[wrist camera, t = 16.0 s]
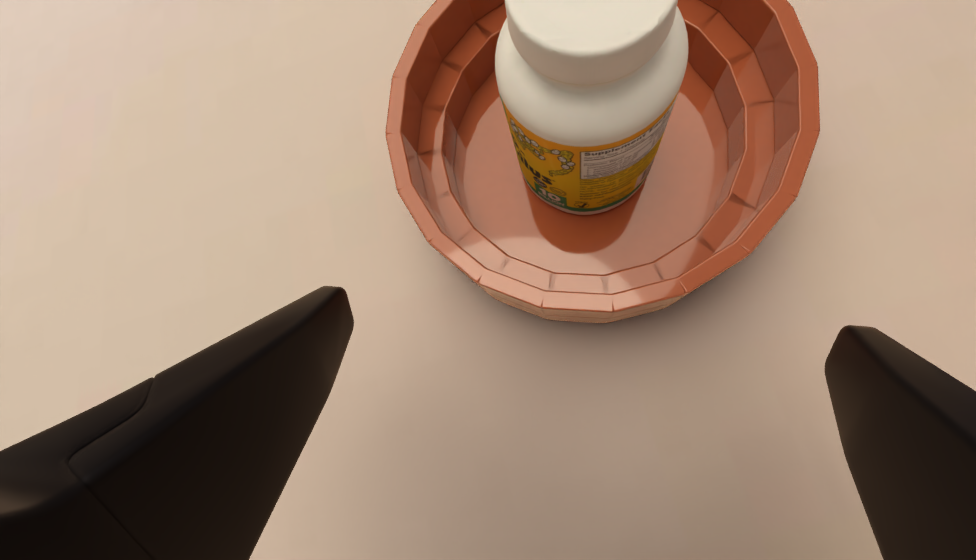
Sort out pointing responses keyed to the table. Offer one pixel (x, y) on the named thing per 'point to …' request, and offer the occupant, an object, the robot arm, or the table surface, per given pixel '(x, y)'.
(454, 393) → the table surface
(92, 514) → the robot arm
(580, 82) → the supplement bottle
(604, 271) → the bowl
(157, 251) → the table surface
